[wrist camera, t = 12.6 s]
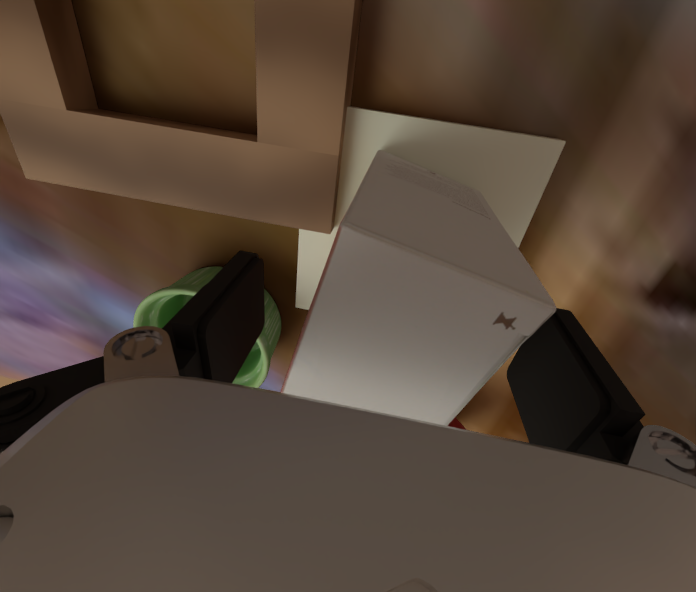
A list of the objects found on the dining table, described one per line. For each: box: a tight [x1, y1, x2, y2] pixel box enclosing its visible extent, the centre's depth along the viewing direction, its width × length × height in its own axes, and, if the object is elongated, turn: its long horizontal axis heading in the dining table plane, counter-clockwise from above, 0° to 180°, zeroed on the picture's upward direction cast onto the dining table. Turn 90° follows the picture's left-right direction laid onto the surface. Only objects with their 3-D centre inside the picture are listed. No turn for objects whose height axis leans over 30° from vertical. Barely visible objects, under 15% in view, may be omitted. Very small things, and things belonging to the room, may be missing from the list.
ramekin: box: [133, 267, 281, 388], centre depth 23 cm, size 9×9×4 cm
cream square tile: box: [295, 106, 566, 310], centre depth 19 cm, size 12×12×1 cm
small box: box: [281, 150, 556, 426], centre depth 14 cm, size 8×6×10 cm
